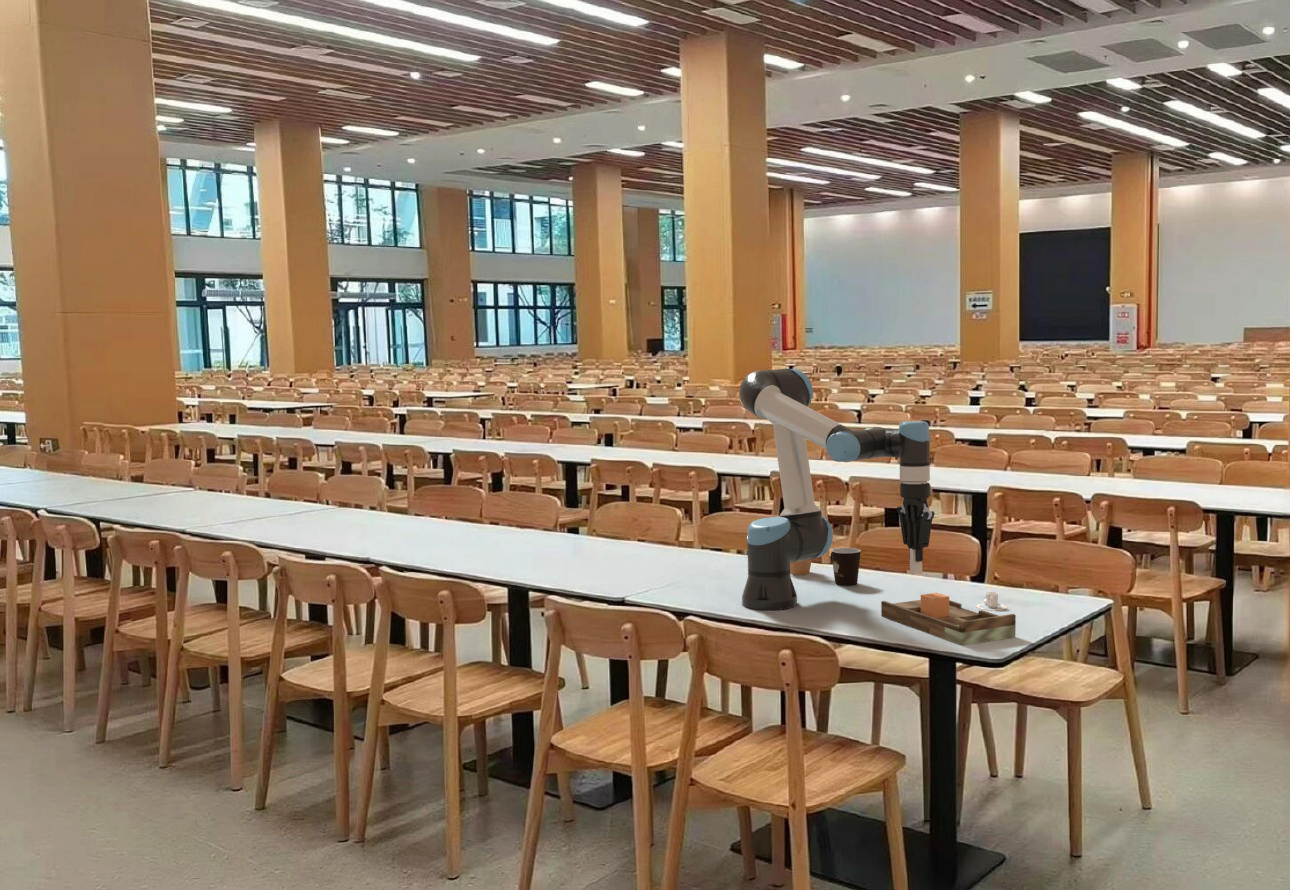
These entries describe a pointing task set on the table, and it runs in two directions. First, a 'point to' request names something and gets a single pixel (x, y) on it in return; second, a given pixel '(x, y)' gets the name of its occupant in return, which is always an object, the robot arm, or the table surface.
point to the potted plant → (800, 567)
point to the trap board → (953, 622)
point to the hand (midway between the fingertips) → (916, 573)
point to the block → (935, 605)
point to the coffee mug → (845, 565)
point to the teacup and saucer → (991, 601)
